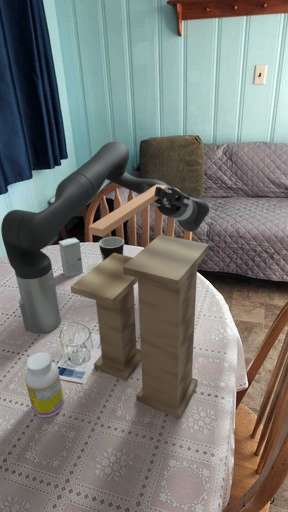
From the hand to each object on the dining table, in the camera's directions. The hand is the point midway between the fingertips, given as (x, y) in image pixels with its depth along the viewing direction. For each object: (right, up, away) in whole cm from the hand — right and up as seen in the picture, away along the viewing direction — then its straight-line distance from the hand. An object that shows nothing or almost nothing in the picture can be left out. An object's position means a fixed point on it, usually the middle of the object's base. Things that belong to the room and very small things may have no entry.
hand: (149, 189), depth 82 cm
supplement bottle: (-22, -47, -5) cm, 52 cm away
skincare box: (-26, -21, +44) cm, 55 cm away
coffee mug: (-12, -19, +48) cm, 53 cm away
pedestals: (-1, -43, +1) cm, 43 cm away
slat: (-3, -5, -5) cm, 8 cm away
